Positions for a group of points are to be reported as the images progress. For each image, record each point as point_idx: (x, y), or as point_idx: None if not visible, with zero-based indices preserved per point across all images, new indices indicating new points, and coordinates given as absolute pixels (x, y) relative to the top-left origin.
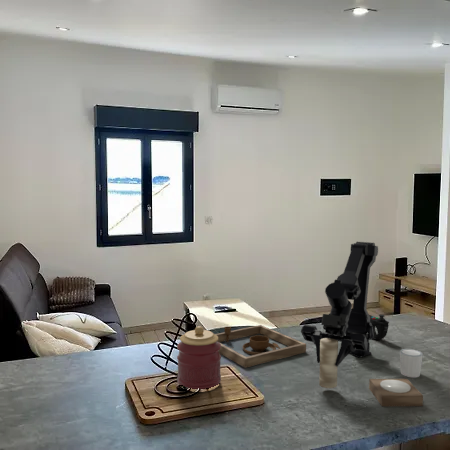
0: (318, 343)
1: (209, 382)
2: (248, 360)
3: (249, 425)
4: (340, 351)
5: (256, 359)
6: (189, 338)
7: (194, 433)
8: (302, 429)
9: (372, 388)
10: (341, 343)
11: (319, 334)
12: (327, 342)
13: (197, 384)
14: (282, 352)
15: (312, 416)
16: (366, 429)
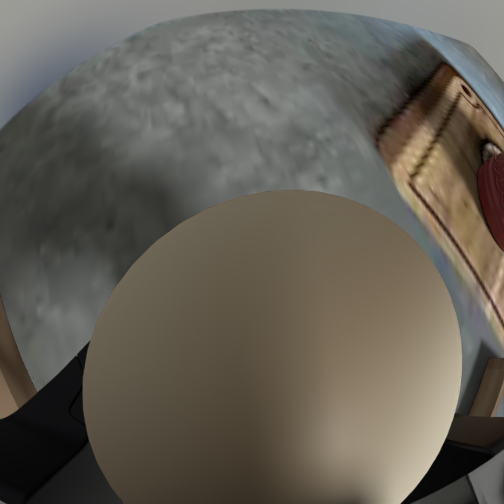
0: None
1: (492, 166)
2: (500, 369)
3: (341, 52)
4: None
5: (488, 399)
6: None
7: (391, 38)
8: (227, 49)
9: (24, 389)
10: (54, 462)
11: (485, 495)
12: (328, 276)
13: (495, 155)
14: None
15: (217, 104)
16: (56, 100)
